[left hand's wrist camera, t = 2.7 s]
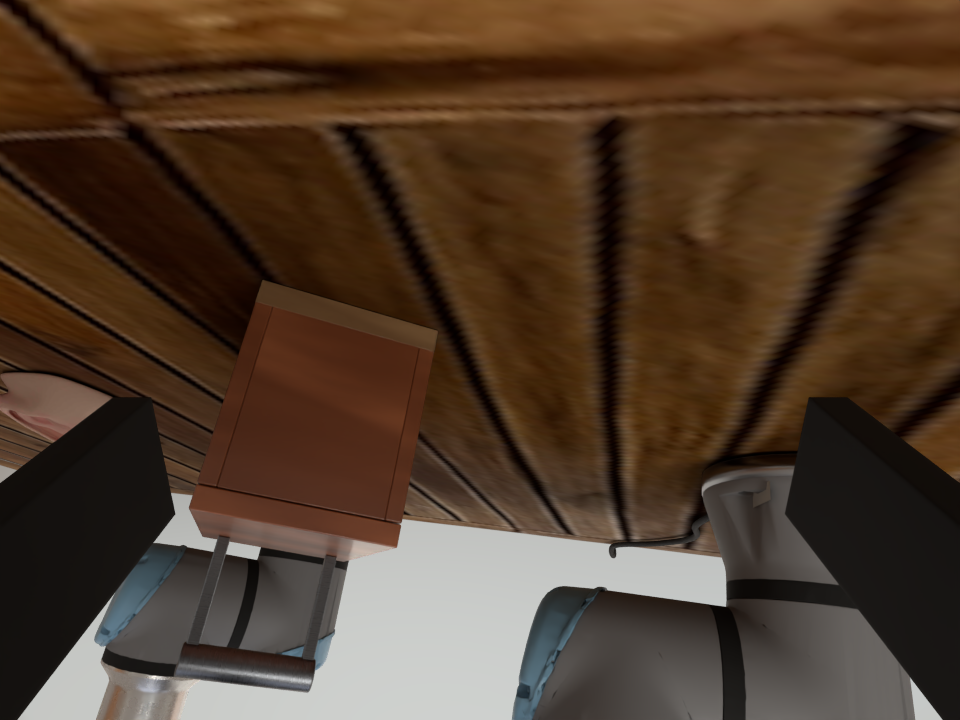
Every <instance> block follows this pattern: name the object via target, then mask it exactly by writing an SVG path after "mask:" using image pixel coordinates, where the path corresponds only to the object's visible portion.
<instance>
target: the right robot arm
mask: <svg viewBox="0 0 960 720" xmlns="http://www.w3.org/2000/svg"><path fill="white" fill-rule="evenodd" d="M213 553H214V552H210V551H205V550H199V549H194V548H188V547H187V546H185V545H181V546H174V545H167V544H160V543H153V544H152V545H151V546H150V548H149V549H148V550H147V552H146V553H145V554H144V555H143V557H142V558H141V559H140V561H139V562H138V563H137V565H136V566H135V567H134V569H133V570H132V571H131V572H130V574H129V575H128V576H127V578H126V579H125V580H124V582H123V583H122V584H121V585H120V587H119V588H118V589H117V591H116V592H115V594H114V596H113V598H112V600H111V602H110V605H109V607H108V609H107V611H106V613H105V616H104V618H103V620H102V622H101V624H100V626H99V628H98V630H97V633H96V635H95V639H94V640H95V642H96V643H97V644H99V645H100V646H106V648H105V651H104V654H103V657H102V659H101V664H102V666H103V668H104V669H105V671H106V673H107V674H108V676H109V683H108V686H107V689H106V692H105V695H104V698H103V701H102V704H101V707H100V709H99V712H98V715H97V718H96V720H180V717H181V714H182V711H183V708H184V704H185V701H186V698H187V694H188V691H189V689H190V688H191V687H192V686H193V685H194V684H196V683H197V682H199V681H200V680H196V679H187V678H179V677H174V672H175V668H176V665H177V661H178V658H179V655H180V652H181V649H182V646H183V643H184V642H187V639H188V636H189V633H190V629H191V626H192V623H193V619H194V616H195V613H196V609H197V606H198V603H199V599H200V596H201V593H202V589H203V586H204V583H205V579H206V576H207V573H208V569H209V566H210V563H211V559H212V556H213ZM323 562H324V558H320V557H314V556H309V555H303V554H297V553H292V552H286V551H281V550H275V549H269V548H264V547H261V549H260V553H259V557H258V559H257V560H253V559H248V558H243V557H237V556H232V555H227V554H226V555H225V558H224V562H223V565H222V568H221V572H220V575H219V579H218V582H217V586H216V589H215V592H214V596H213V599H212V603H211V606H210V609H209V613H208V616H207V620H206V623H205V627H204V630H203V633H202V637H201V640H200V644H207V645H215V646H222V647H230V648H237V649H245V650H252V651H260V652H267V653H275V654H283V655H290V656H298V657H302V653H303V649H304V644H305V640H306V636H307V631H308V627H309V623H310V618H311V614H312V610H313V606H314V601H315V597H316V593H317V588H318V584H319V580H320V575H321V571H322V567H323ZM348 562H349V561H345V562H342V561H337V560H336V563H335V568H334V572H333V576H332V581H331V585H330V590H329V594H328V599H327V603H326V608H325V612H324V617H323V621H322V625H321V630H320V634H319V639H318V643H317V648H316V652H315V657H314V659H315V660H316V668H315V670H317V669H319V668H320V667H321V666H322V665H323V664H324V662H325V660H326V658H327V655H328V651H329V647H330V643H331V639H332V637H333V636H334V634H335V629H334V628H335V623H336V619H337V614H338V609H339V604H340V600H341V595H342V590H343V585H344V580H345V576H346V571H347V566H348Z"/></svg>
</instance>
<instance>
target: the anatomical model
mask: <svg viewBox="0 0 960 720" xmlns="http://www.w3.org/2000/svg"><path fill="white" fill-rule="evenodd" d="M0 377H1V379H2V381H3V382H4V383H5V385H6V386H7V388H8V393H5V394H1V395H0V410H1V411H2V412H3V413H5V414H6V415H8V416H9V417H11V418H12V419H13V420H15V421H16V422H18V423H20V424H21V425H23V426H25V427H26V428H28V429H30V430H32V431H34V432H36V433H38V434H40V435H42V436H43V437H45V438H47V439H49V440H51V441H53V442H55V441H56V440H58V439H59V438H60V437H61V436H63V435H64V434H65V433H67V432H68V431H69V430H71V429H72V428H73V427H75V426H76V425H77V424H79V423H80V422H81V421H82V420H84V419H85V418H86V417H88V416H89V415H90V414H92V413H93V412H94V411H96V410H97V409H98V408H100V407H101V406H102V405H103V404H105V403H106V402H107V401H109V400H110V399H111V398H113V397H111V396H109V395H107V394H104V393H102V392H100V391H97V390H95V389H92V388H90V387H87V386H85V385H82V384H79V383H77V382H74V381H71V380H68V379H65V378H62V377H58V376H54V375H49V374H41V373H24V372H13V373H2V374H1V375H0Z"/></svg>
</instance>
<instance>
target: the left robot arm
mask: <svg viewBox="0 0 960 720" xmlns="http://www.w3.org/2000/svg"><path fill="white" fill-rule="evenodd" d="M702 496H703V500H704V505H705V508H706V511H707V514H706V515H704V516H702V517H701V518H699V519H698V520H696V521H695V522H694V523H693V524H692V530H693V532H694V534H692V535H690V536H687V537H683V538H678V539H670V540H661V541H646V542H618V543H613V544H611V545H610V547H609V554H610V556H611V557H612V558H615V557H616V548H618V547H648V546H664V545H674V544H682V543H687V542H691V541H694V540H696V539H698V538H699V536H700V531H699V529H698V528H699V527H700V526H701V525H702V524H704V523H706V522H708V521H710V523H711V526H712V529H713V532H714V535H715V538H716V541H717V544H718V547H719V550H720V553H721V556H722V559H723V562H724V565H725V570H726V590H727V602H726V607H722V606H715V605H709V604H701V603H694V602H687V601H680V600H673V599H665V598H658V597H651V596H643V595H637V594H629V593H622V592H615V591H608V590H607V589H606V588H604V587H597V588H595V589H590V588H579V587H568V586H562V587H557V588H554V589H553V590H551V591H550V592H548V593H547V594H546V595H545V597H544V598H543V599H542V601H541V603H540V605H539V607H538V609H537V612H536V614H535V617H534V620H533V623H532V626H531V630H530V633H529V637H528V640H527V644H526V648H525V652H524V656H523V660H522V665H521V670H520V675H519V686H518V689H517V694H516V698H515V702H514V707H513V715H512V720H915V714H914V707H913V699H912V691H911V683H910V678H911V679H912V680H913V682H914V683H915V684H916V686H917V687H918V688H919V689H920V691H921V692H922V693H923V695H924V696H925V697H926V699H927V700H928V701H929V703H930V704H931V705H932V706H933V708H934V709H935V710H936V712H937V713H938V714H939V715H940V717H941V718H942V719H943V720H960V483H959V482H958V481H956V480H955V479H954V478H952V477H951V476H950V475H948V474H947V473H946V472H944V471H943V470H942V469H941V468H939V467H938V466H937V465H935V464H934V463H933V462H931V461H930V460H929V459H927V458H926V457H925V456H923V455H922V454H921V453H920V452H918V451H917V450H916V449H914V448H913V447H912V446H910V445H909V444H908V443H906V442H905V441H904V440H902V439H901V438H900V437H899V436H897V435H896V434H895V433H893V432H892V431H891V430H889V429H888V428H887V427H885V426H884V425H883V424H881V423H880V422H879V421H878V420H876V419H875V418H874V417H872V416H871V415H870V414H868V413H867V412H866V411H864V410H863V409H862V408H860V407H859V406H858V405H857V404H855V403H854V402H853V401H851V400H850V399H849V398H847V397H809V399H808V404H807V409H806V414H805V419H804V423H803V428H802V433H801V438H800V443H799V448H798V452H797V454H770V455H757V456H749V457H742V458H736V459H731V460H727V461H723V462H720V463H717V464H715V465H712V466H710V467H709V468H707V469H706V470H705V471H704V472H703V474H702ZM174 515H175V510H174V505H173V501H172V496H171V491H170V486H169V481H168V476H167V472H166V467H165V462H164V457H163V452H162V448H161V443H160V438H159V433H158V428H157V423H156V419H155V414H154V409H153V404H152V399H151V397H113V398H111V399H110V400H109V401H107V402H106V403H105V404H103V405H102V406H101V407H100V408H98V409H97V410H96V411H94V412H93V413H92V414H90V415H89V416H88V417H86V418H85V419H84V420H82V421H81V422H80V423H79V424H77V425H76V426H75V427H73V428H72V429H71V430H69V431H68V432H67V433H65V434H64V435H63V436H61V437H60V438H59V439H58V440H56V441H55V442H54V443H52V444H51V445H50V446H48V447H47V448H46V449H44V450H43V451H42V452H40V453H39V454H38V455H37V456H35V457H34V458H33V459H31V460H30V461H29V462H27V463H26V464H25V465H23V466H22V467H21V468H19V469H18V470H17V471H16V472H14V473H13V474H12V475H10V476H9V477H8V478H6V479H5V480H4V481H2V482H1V483H0V720H17V719H18V718H19V717H20V716H21V714H22V713H23V712H24V710H25V709H26V708H27V706H28V705H29V704H30V702H31V701H32V700H33V699H34V697H35V696H36V695H37V693H38V692H39V691H40V690H41V688H42V687H43V686H44V684H45V683H46V682H47V680H48V679H49V678H50V676H51V675H52V674H53V673H54V671H55V670H56V669H57V667H58V666H59V665H60V663H61V662H62V661H63V660H64V658H65V657H66V656H67V654H68V653H69V652H70V650H71V649H72V648H73V647H74V645H75V644H76V643H77V641H78V640H79V639H80V637H81V636H82V635H83V634H84V632H85V631H86V630H87V628H88V627H89V626H90V624H91V623H92V622H93V621H94V619H95V618H96V617H97V615H98V614H99V613H100V611H101V610H102V609H103V608H104V606H105V605H106V604H107V602H108V601H109V600H110V598H111V597H112V596H113V595H114V593H115V592H116V591H117V589H118V588H119V587H120V585H121V584H122V583H123V582H124V580H125V579H126V578H127V576H128V575H129V574H130V572H131V571H132V570H133V569H134V567H135V566H136V565H137V563H138V562H139V561H140V559H141V558H142V557H143V555H144V554H145V553H146V552H147V550H148V549H149V548H150V546H151V545H152V544H153V542H154V541H155V540H156V538H157V537H158V536H159V535H160V533H161V532H162V531H163V529H164V528H165V527H166V526H167V524H168V523H169V522H170V520H171V519H172V518H173V516H174Z"/></svg>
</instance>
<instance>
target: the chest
mask: <svg viewBox="0 0 960 720" xmlns="http://www.w3.org/2000/svg"><path fill="white" fill-rule="evenodd" d="M437 335H438V331H437V330H433V329H430V328H426V327H423V326H419V325H416V324H412V323H409V322H406V321H402V320H399V319H395V318H392V317H388V316H385V315H382V314H378V313H375V312H371V311H368V310H364V309H361V308H358V307H354V306H351V305H347V304H344V303H340V302H337V301H334V300H330V299H327V298H323V297H320V296H316V295H313V294H310V293H306V292H303V291H299V290H296V289H292V288H289V287H286V286H282V285H279V284H275V283H272V282H268V281H265V280H262V283H261V286H260V289H259V292H258V295H257V298H256V301H255V305H254V308H253V311H252V315H251V318H250V321H249V324H248V327H247V330H246V333H245V336H244V339H243V342H242V345H241V348H240V352H239V355H238V358H237V361H236V364H235V367H234V370H233V373H232V376H231V379H230V382H229V385H228V389H227V392H226V395H225V398H224V401H223V404H222V407H221V410H220V413H219V416H218V419H217V422H216V426H215V429H214V432H213V435H212V438H211V441H210V444H209V447H208V450H207V453H206V456H205V460H204V463H203V466H202V469H201V472H200V475H199V478H198V484H199V485H204V486H209V487H214V488H219V489H224V490H229V491H234V492H239V493H244V494H249V495H254V496H259V497H264V498H269V499H274V500H279V501H284V502H289V503H294V504H300V505H305V506H310V507H315V508H320V509H325V510H330V511H335V512H340V513H345V514H350V515H355V516H360V517H365V518H370V519H375V520H380V521H385V522H390V523H395V524H400V523H401V522H402V518H403V513H404V507H405V502H406V497H407V492H408V486H409V481H410V476H411V470H412V465H413V460H414V455H415V449H416V444H417V439H418V433H419V428H420V423H421V418H422V412H423V407H424V402H425V396H426V391H427V386H428V380H429V375H430V370H431V365H432V359H433V354H434V351H435V346H436V341H437Z"/></svg>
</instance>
